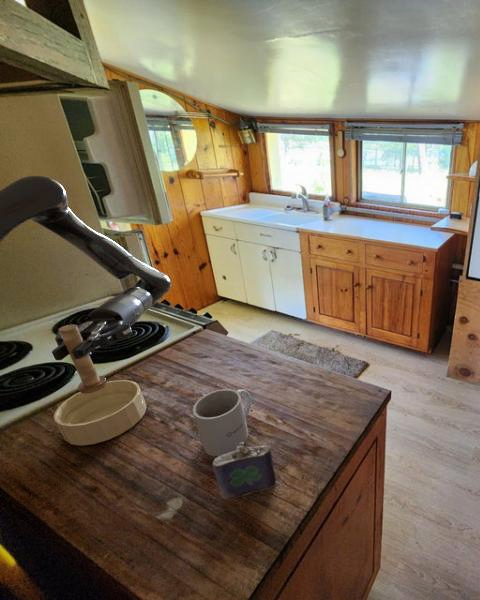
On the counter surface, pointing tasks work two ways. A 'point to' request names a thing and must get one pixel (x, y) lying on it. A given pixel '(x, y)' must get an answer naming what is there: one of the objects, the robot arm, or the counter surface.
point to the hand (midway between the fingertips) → (66, 355)
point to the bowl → (100, 413)
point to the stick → (82, 361)
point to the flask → (244, 471)
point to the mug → (222, 420)
